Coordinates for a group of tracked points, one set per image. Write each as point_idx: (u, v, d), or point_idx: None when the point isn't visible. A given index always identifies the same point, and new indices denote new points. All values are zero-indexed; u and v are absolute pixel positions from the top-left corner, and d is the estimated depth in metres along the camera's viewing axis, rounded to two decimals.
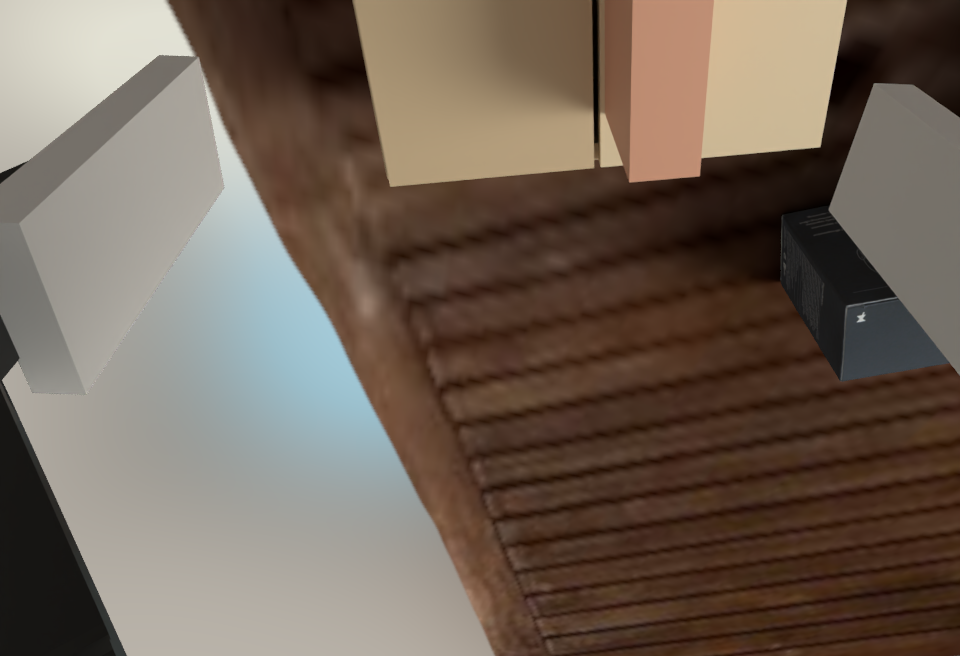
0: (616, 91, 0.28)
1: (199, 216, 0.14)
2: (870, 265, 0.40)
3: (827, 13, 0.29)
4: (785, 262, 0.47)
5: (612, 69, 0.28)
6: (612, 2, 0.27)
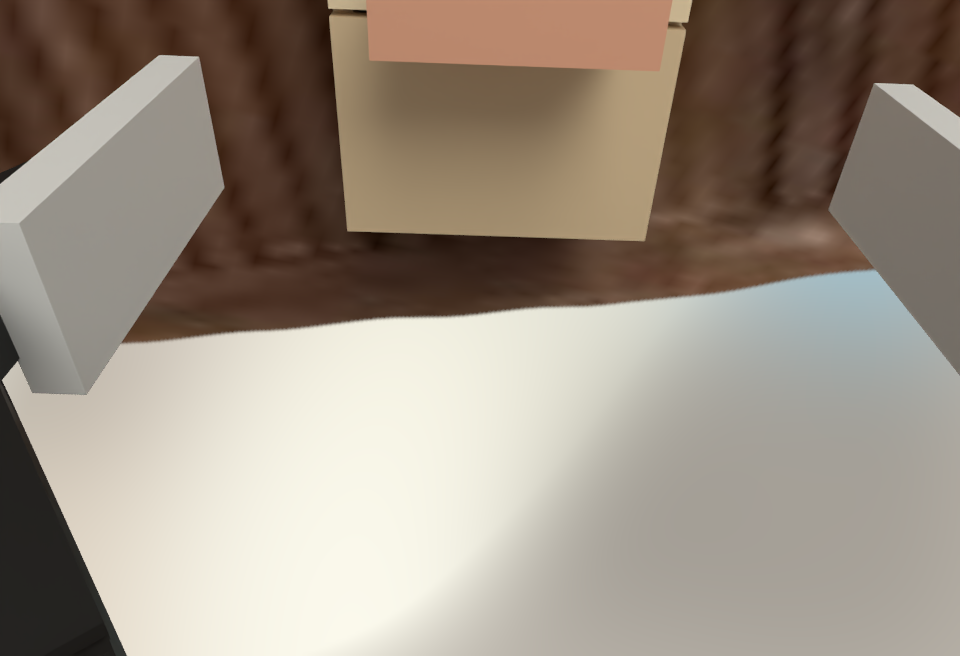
0: None
1: (199, 216, 0.14)
2: None
3: None
4: None
5: None
6: None
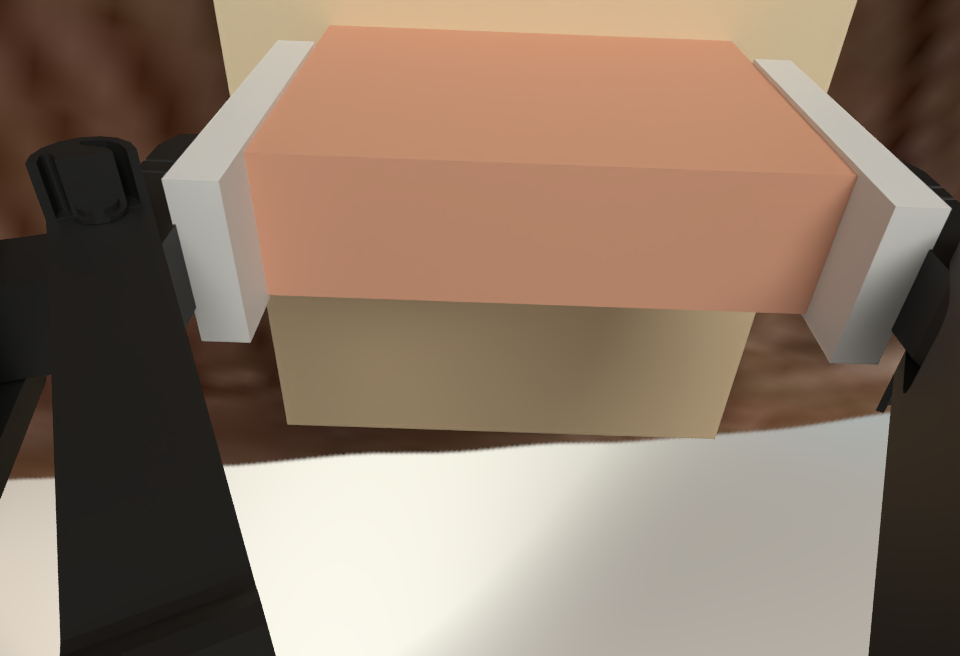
0: None
1: None
2: None
3: None
4: None
5: None
6: None
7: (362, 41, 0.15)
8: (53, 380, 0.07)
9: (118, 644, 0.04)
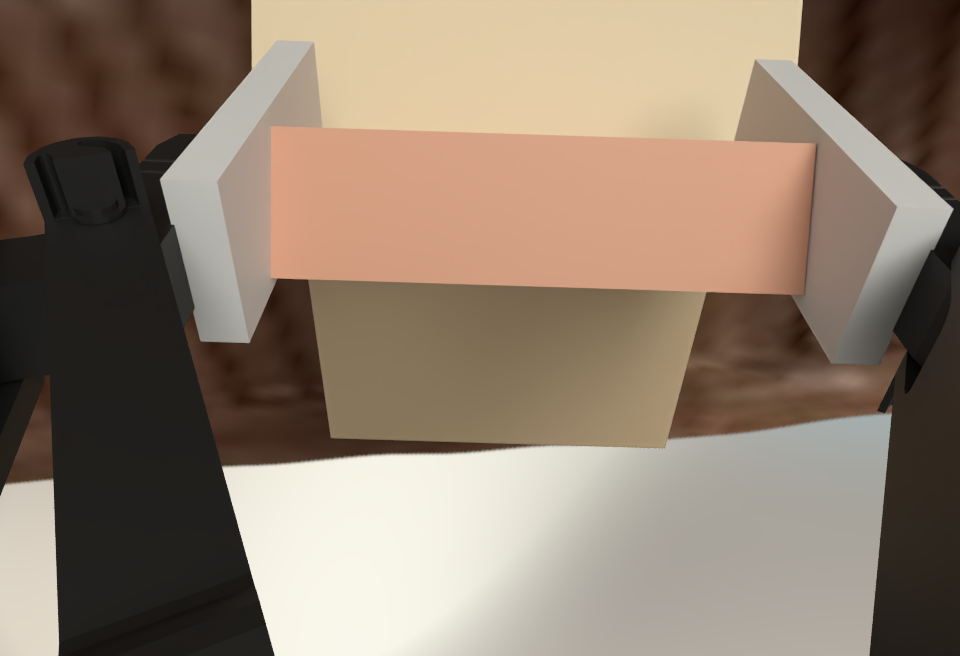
0: None
1: None
2: None
3: None
4: None
5: None
6: None
7: None
8: (51, 380, 0.07)
9: (116, 644, 0.04)
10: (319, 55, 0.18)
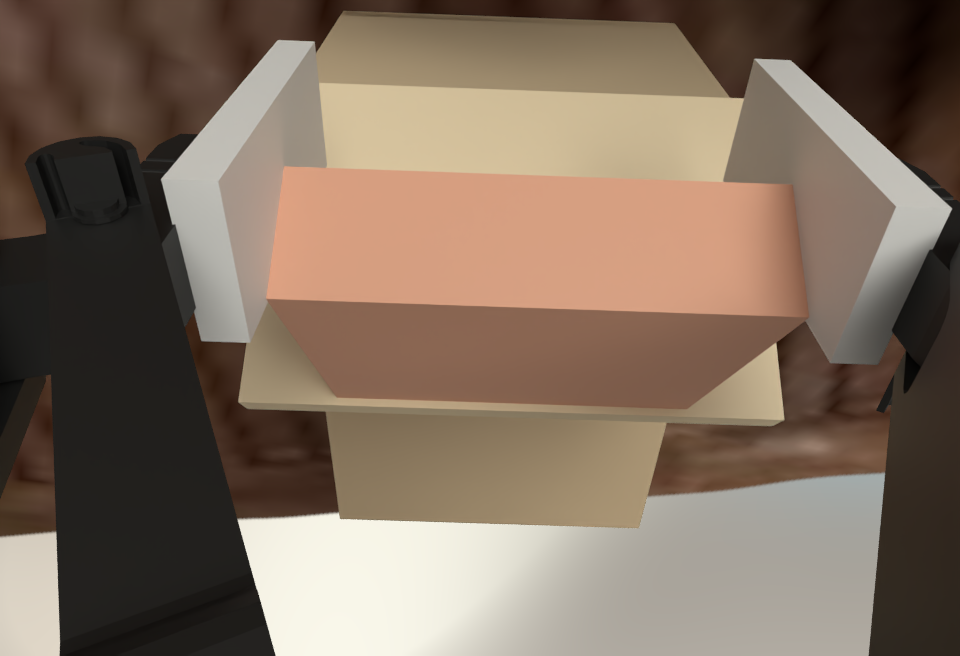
0: (633, 369, 0.15)
1: None
2: None
3: (559, 111, 0.21)
4: None
5: (600, 381, 0.16)
6: (492, 378, 0.16)
7: None
8: (53, 380, 0.07)
9: (118, 644, 0.04)
10: None
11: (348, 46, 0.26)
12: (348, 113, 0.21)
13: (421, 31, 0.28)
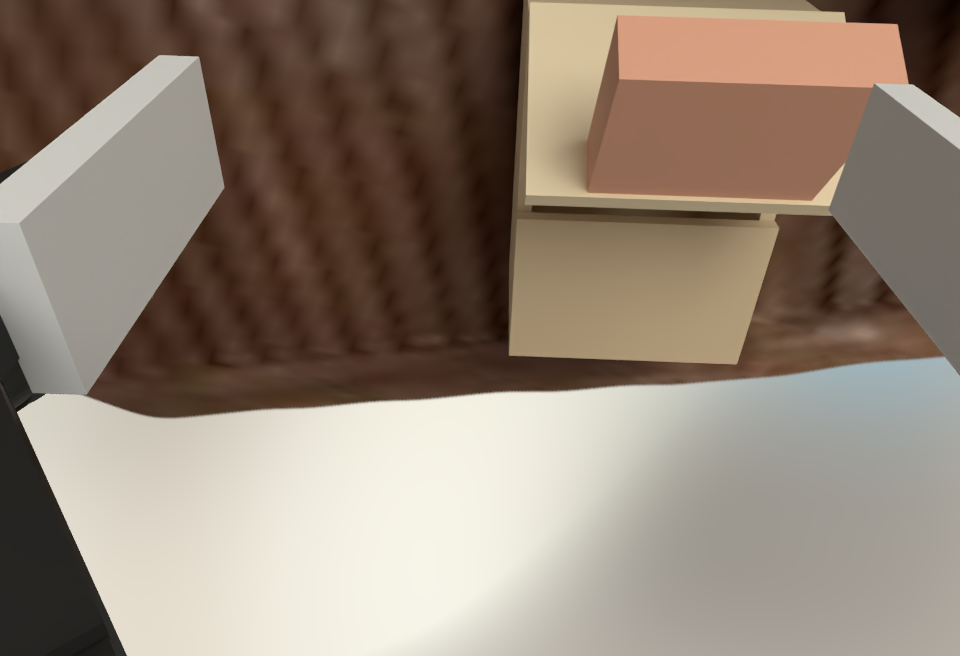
0: (794, 148, 0.26)
1: (199, 216, 0.14)
2: None
3: None
4: None
5: (768, 165, 0.27)
6: (702, 163, 0.27)
7: None
8: None
9: None
10: (568, 82, 0.31)
11: None
12: (575, 22, 0.32)
13: None
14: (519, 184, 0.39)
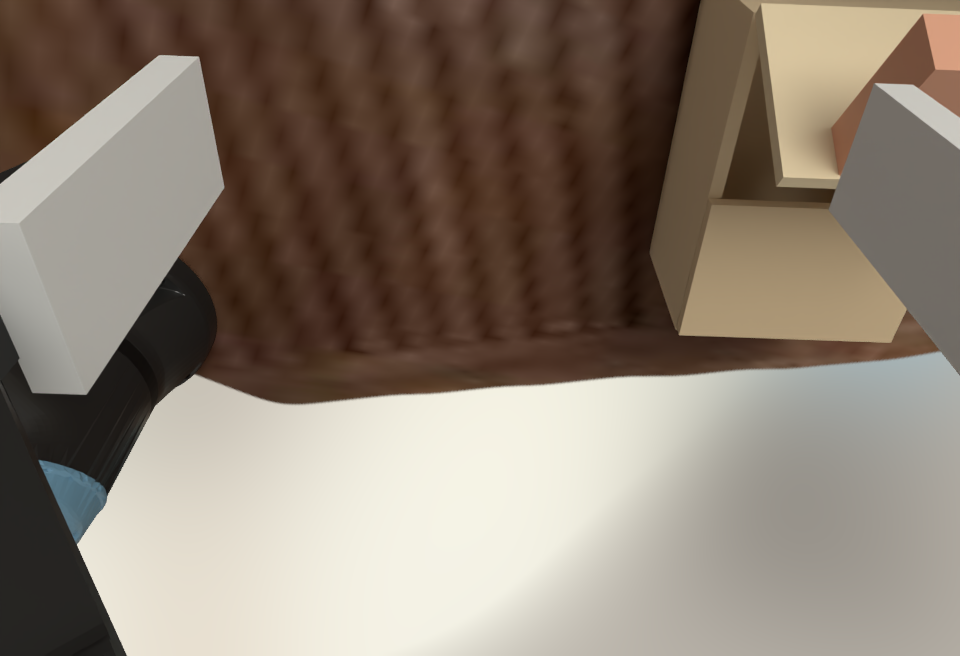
0: None
1: (199, 216, 0.14)
2: None
3: None
4: None
5: None
6: None
7: None
8: None
9: None
10: (806, 75, 0.34)
11: None
12: (804, 21, 0.35)
13: None
14: (714, 172, 0.42)
